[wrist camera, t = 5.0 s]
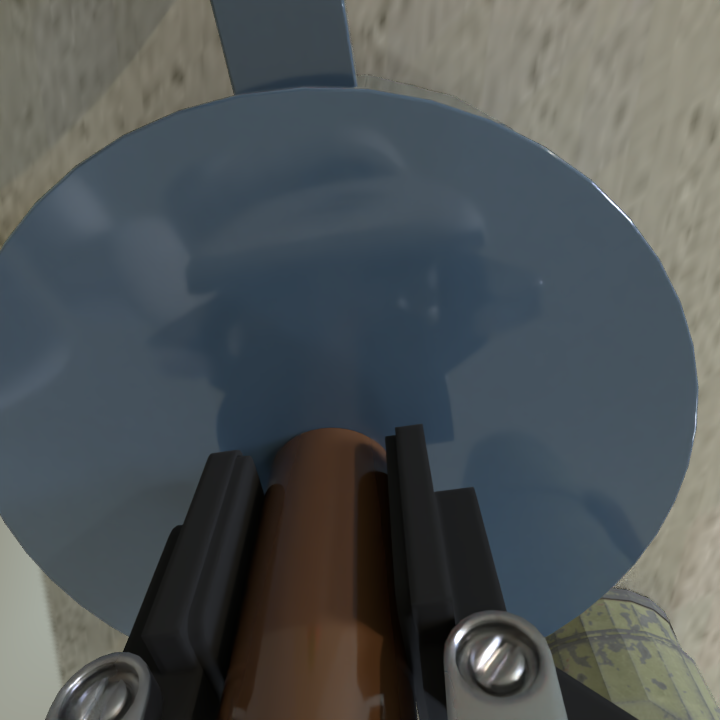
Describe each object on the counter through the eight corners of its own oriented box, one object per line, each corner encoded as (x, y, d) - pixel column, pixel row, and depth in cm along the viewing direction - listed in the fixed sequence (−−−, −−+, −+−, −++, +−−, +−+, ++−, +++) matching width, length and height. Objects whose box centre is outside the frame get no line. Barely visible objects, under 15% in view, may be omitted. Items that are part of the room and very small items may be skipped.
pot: (246, 511, 25) (202, 673, 19) (72, 22, 16) (-127, 6, 10) (557, 474, 24) (627, 635, 17) (553, -78, 15) (693, -175, 9)
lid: (138, 678, 17) (5, 1051, 10) (-157, 168, 10) (-1040, 363, 4) (648, 622, 16) (842, 1004, 9) (711, 1, 9) (1596, -132, 2)
